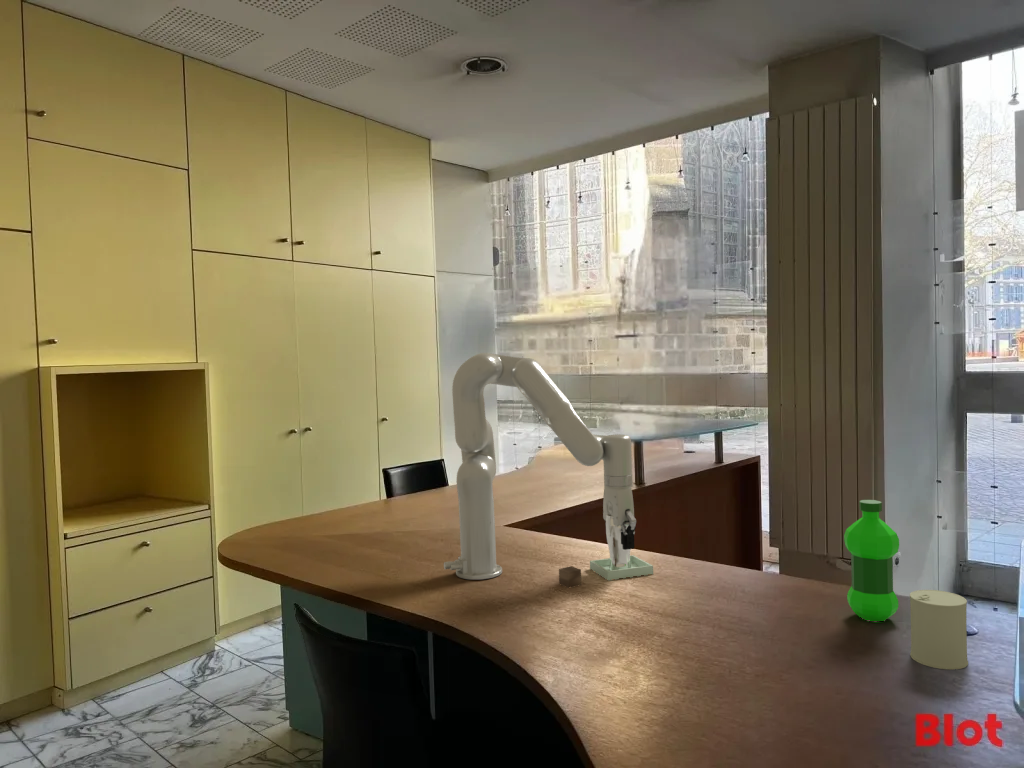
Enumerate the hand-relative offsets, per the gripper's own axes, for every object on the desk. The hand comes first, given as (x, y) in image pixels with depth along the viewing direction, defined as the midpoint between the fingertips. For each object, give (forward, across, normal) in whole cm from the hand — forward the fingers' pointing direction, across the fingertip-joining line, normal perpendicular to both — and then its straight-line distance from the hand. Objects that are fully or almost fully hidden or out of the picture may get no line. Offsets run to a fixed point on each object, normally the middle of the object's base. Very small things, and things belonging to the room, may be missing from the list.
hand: (620, 544), depth 196 cm
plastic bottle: (+7, +52, +34) cm, 63 cm away
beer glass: (+7, 0, 0) cm, 7 cm away
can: (+7, +74, +28) cm, 79 cm away
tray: (+7, 0, 0) cm, 7 cm away
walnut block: (+7, +4, -16) cm, 19 cm away
